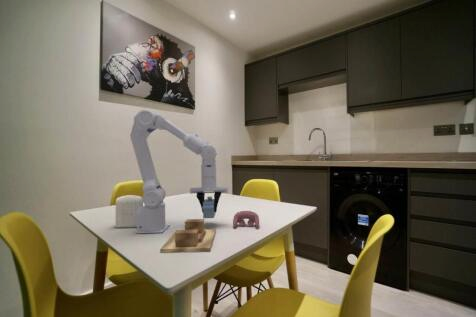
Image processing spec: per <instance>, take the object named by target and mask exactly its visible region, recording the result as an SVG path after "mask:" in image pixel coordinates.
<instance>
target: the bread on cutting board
mask: <svg viewBox="0 0 476 317" xmlns="http://www.w3.org/2000/svg"><path fill="white" fill-rule="evenodd" d="M216 233H217V229H216V228H215V229H214V228H212V229H211V228H210V229H205V218H195V219H193V218H192V219H191V218H187V219H186V220H184V229H177V230H175V231H174V232H173V234H172V235H170V237H169V238H168V239H167V241H166V242H165V243H164V244H163V245H162V246H161V248H160V249H159V252H160V253H163V254H164V253H165V254H166V253H193V252H194V253H202V252H204V253H205V252H208V253H209V252H211V250H212V247H213V243H214V239H215V238H216Z"/></svg>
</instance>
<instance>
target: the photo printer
mask: <svg viewBox="0 0 476 317" xmlns="http://www.w3.org/2000/svg"><path fill="white" fill-rule="evenodd" d="M142 206H144V202H143V196H141V195H135V194H128V195H122V196H119V197H117V198H116V200H115V228H137V211H138V209H139V208H140V207H142Z"/></svg>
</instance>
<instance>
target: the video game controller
mask: <svg viewBox="0 0 476 317" xmlns="http://www.w3.org/2000/svg"><path fill="white" fill-rule="evenodd" d="M247 219H248V220H247ZM245 220H247V222H246V221H245ZM246 223H247V225H248V227H253V226H254V225H255V228H256V229H257V230H258V229H259V228H260V217H259V215H258V213H256V212H255V211H251V210H242V211H238V212H236V213H235V214H234V215H233V219H232V226H233V229H236V228H237V227H238V224H239V226H240V227H244V226H246Z"/></svg>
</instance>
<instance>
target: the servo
mask: <svg viewBox="0 0 476 317" xmlns="http://www.w3.org/2000/svg"><path fill="white" fill-rule="evenodd" d="M202 209H203V213H202V219H215V217H216V213H217V211H216V212H214V198H213V196H207V198H206V199H205V198H204V202H203V207H202V208H201V210H202Z"/></svg>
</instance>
